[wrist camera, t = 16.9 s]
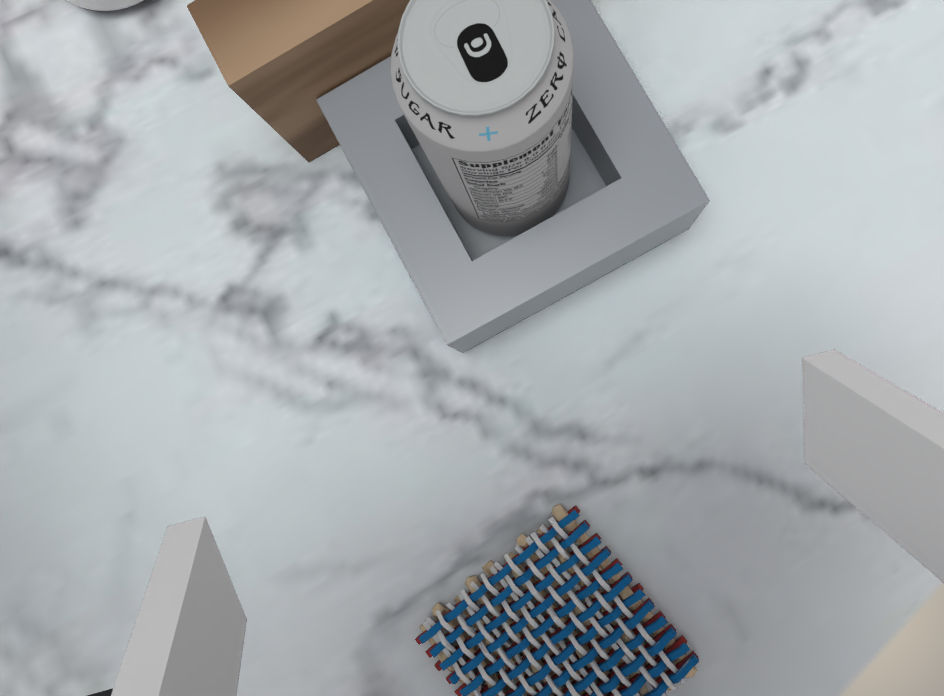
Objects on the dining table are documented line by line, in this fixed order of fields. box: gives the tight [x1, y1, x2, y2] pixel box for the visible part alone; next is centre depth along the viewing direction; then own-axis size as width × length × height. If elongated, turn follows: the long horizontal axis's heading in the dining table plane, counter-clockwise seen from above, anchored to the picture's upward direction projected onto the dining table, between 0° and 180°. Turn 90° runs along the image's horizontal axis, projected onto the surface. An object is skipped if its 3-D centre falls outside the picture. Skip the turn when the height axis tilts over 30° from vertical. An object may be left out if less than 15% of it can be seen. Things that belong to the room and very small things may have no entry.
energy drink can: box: [390, 0, 574, 236], centre depth 30 cm, size 6×6×15 cm
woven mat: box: [415, 504, 699, 696], centre depth 37 cm, size 10×11×2 cm
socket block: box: [316, 0, 710, 353], centre depth 37 cm, size 13×13×6 cm
